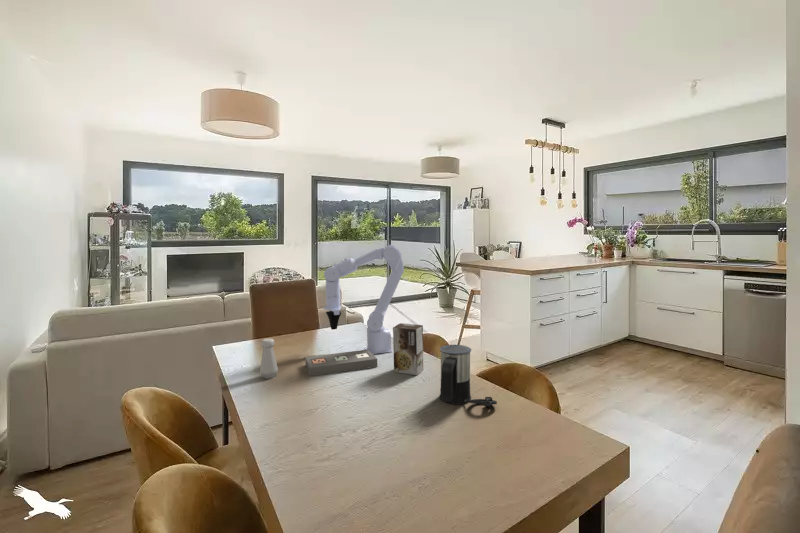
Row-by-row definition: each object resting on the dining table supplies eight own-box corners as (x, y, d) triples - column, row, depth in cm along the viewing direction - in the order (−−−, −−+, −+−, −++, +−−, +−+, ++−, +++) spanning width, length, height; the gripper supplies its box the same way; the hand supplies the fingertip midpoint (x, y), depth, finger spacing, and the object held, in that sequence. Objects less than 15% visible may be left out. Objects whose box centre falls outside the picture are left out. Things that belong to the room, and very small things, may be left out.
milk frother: (439, 390, 119) (439, 343, 117) (492, 392, 117) (492, 344, 116) (439, 412, 105) (439, 359, 103) (498, 414, 103) (499, 360, 101)
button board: (368, 356, 151) (368, 349, 151) (377, 366, 140) (377, 358, 140) (305, 364, 143) (305, 357, 143) (310, 376, 132) (309, 367, 131)
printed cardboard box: (424, 369, 137) (423, 324, 135) (417, 375, 131) (416, 329, 129) (400, 366, 141) (400, 322, 139) (392, 372, 135) (392, 326, 133)
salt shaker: (281, 374, 134) (280, 337, 132) (271, 380, 128) (269, 342, 127) (267, 372, 136) (266, 336, 134) (256, 378, 130) (254, 340, 129)
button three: (324, 364, 142) (324, 357, 141) (326, 368, 137) (326, 361, 137) (312, 366, 140) (311, 359, 140) (313, 370, 136) (313, 363, 136)
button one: (366, 359, 147) (366, 352, 147) (369, 362, 143) (369, 356, 143) (355, 360, 146) (355, 354, 145) (358, 364, 141) (357, 357, 141)
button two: (345, 362, 144) (345, 355, 144) (348, 365, 140) (348, 358, 140) (334, 363, 143) (333, 356, 143) (336, 367, 139) (336, 360, 138)
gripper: (320, 294, 162) (321, 325, 163) (326, 299, 148) (327, 334, 150) (337, 293, 164) (337, 324, 166) (344, 298, 151) (345, 332, 152)
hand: (333, 329), depth 158 cm, fingers closed
